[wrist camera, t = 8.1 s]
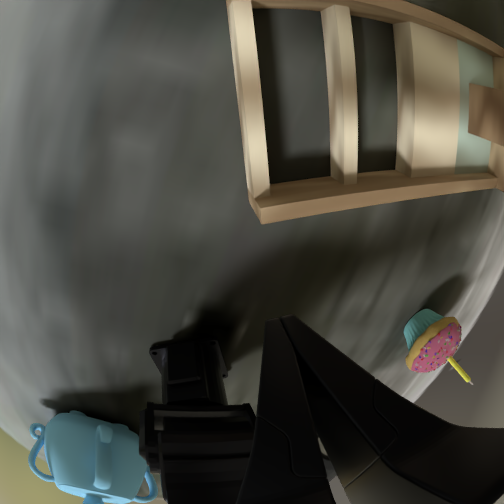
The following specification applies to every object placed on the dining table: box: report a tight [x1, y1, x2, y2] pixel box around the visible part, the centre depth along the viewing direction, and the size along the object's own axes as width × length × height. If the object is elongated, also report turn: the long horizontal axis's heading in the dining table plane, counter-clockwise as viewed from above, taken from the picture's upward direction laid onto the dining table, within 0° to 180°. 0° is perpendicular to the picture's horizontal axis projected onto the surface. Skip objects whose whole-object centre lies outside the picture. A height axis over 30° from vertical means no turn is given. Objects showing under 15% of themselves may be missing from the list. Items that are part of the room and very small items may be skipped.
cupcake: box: [404, 309, 473, 385], centre depth 28 cm, size 9×8×12 cm
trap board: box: [226, 0, 504, 224], centre depth 15 cm, size 14×25×5 cm, turn 96°
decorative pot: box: [28, 410, 158, 504], centre depth 26 cm, size 16×16×14 cm
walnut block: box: [468, 83, 504, 147], centre depth 15 cm, size 4×4×4 cm
